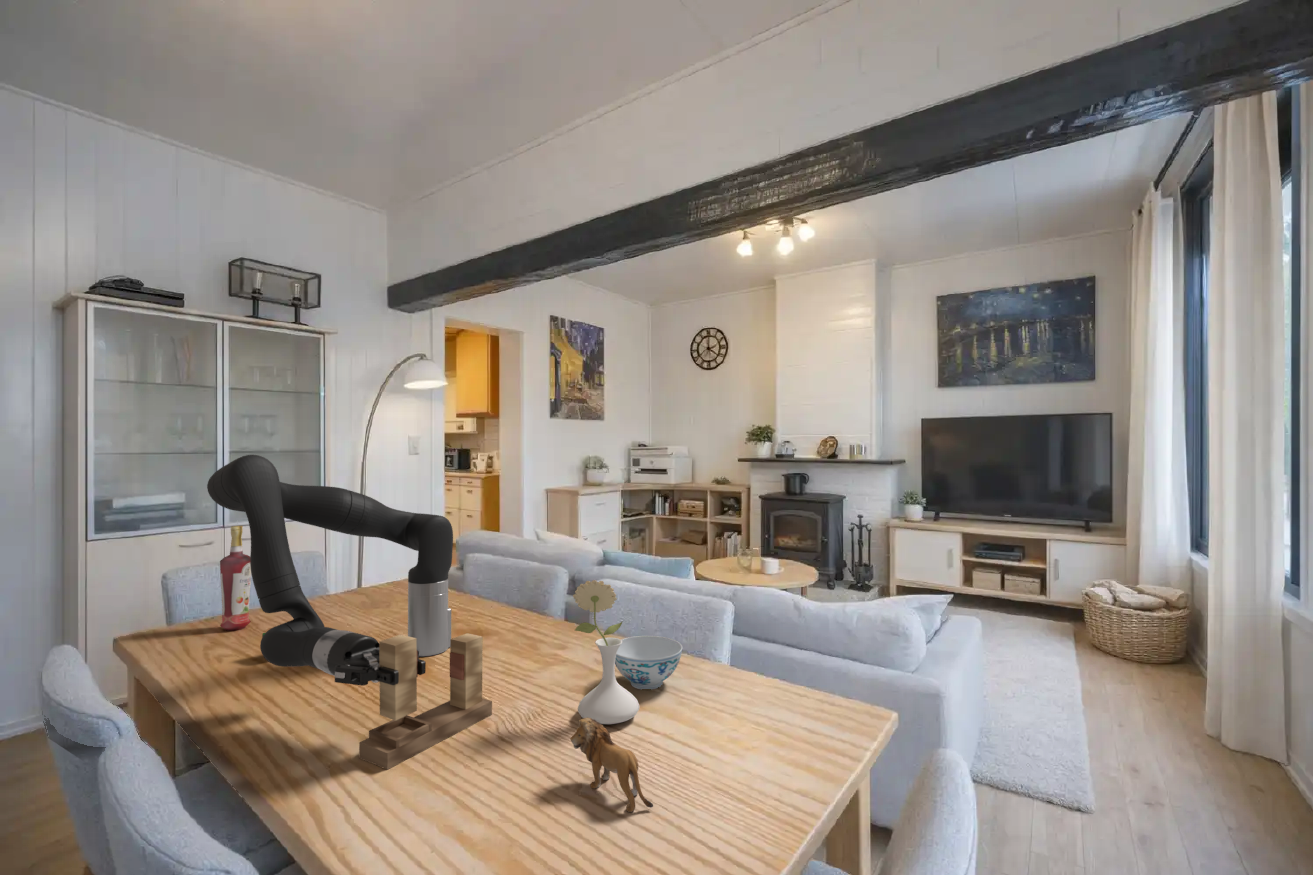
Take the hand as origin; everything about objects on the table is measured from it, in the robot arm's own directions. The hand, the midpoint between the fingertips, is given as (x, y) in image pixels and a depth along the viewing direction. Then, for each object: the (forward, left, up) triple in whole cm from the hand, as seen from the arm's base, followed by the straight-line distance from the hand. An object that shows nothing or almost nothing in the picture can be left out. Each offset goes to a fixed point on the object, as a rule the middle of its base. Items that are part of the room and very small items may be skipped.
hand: (410, 672), depth 98 cm
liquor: (-21, -100, -13) cm, 103 cm away
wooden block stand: (-6, -3, -13) cm, 15 cm away
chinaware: (-44, +18, -13) cm, 50 cm away
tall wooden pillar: (0, -3, -7) cm, 7 cm away
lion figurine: (-8, +34, -13) cm, 37 cm away
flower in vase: (-27, +19, -13) cm, 36 cm away
